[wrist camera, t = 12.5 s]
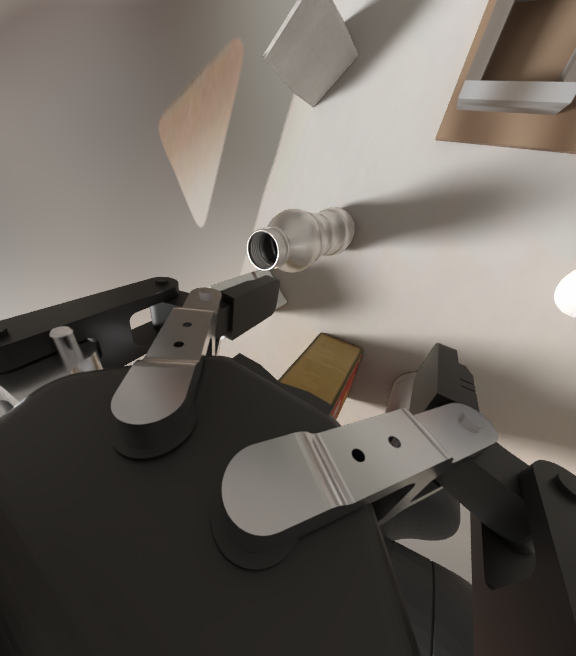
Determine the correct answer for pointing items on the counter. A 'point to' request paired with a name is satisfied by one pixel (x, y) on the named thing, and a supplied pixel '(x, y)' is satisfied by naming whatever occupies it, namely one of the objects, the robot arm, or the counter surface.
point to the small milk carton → (311, 49)
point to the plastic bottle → (300, 239)
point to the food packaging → (326, 370)
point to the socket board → (518, 79)
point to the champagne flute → (567, 294)
